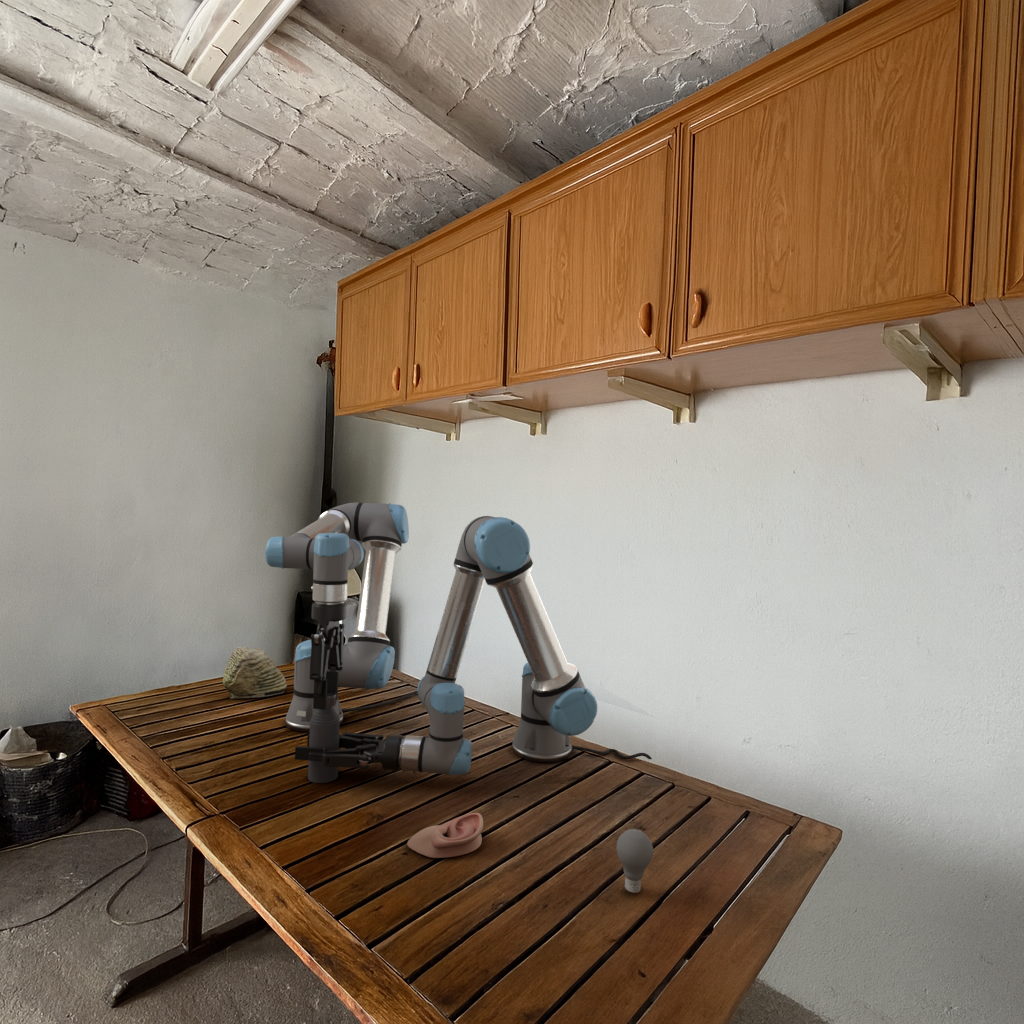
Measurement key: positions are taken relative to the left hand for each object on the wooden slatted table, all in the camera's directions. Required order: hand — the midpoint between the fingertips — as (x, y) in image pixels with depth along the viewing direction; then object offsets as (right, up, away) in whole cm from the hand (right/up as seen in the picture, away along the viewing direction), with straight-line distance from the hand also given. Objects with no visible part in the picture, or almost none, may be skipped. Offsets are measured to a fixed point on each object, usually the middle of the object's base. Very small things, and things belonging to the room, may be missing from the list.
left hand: (325, 703), depth 143 cm
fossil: (-38, -14, +55) cm, 69 cm away
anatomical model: (+30, -18, -25) cm, 43 cm away
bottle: (-1, -17, 0) cm, 17 cm away
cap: (0, +2, 0) cm, 2 cm away
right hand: (-5, -10, +1) cm, 11 cm away
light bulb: (+62, -20, -37) cm, 75 cm away
